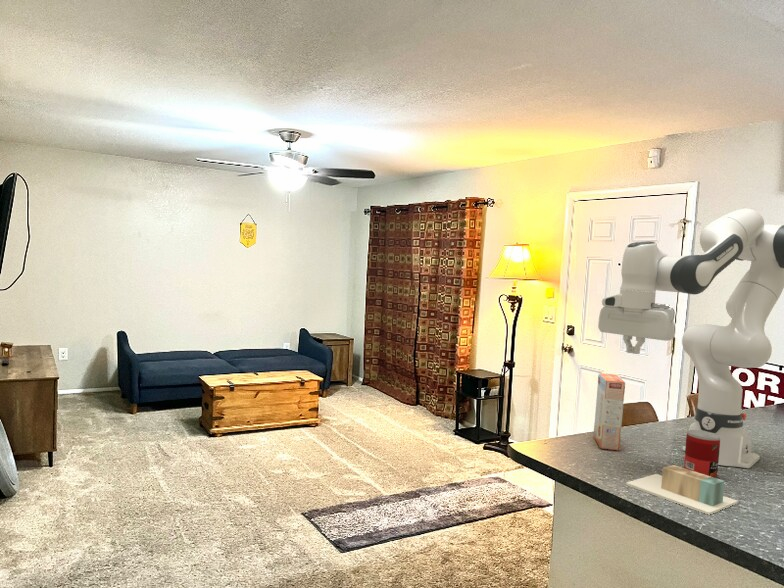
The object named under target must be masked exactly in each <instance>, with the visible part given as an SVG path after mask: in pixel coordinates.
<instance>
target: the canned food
mask: <svg viewBox="0 0 784 588" xmlns="http://www.w3.org/2000/svg"><path fill="white" fill-rule="evenodd" d="M685 446H686V447H685V451H684V463H683V468H685V469H688V470H691V471H694V472H698V473H701V474H704V475H707V476H711V477H714V478H717V477H718V470H719V465H718V461H719V450H720V436H719V435H717V434H714V433H711V432H707V431H701V430H687V431H686V437H685Z"/></svg>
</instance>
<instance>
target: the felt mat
mask: <svg viewBox="0 0 784 588" xmlns="http://www.w3.org/2000/svg"><path fill="white" fill-rule="evenodd" d="M661 484H662V475H661V474H658V473H654V474H651V475H648V476H647V475H646V476H643V477H640V478H637V479H634V480H631V481H627V482H625V486H628V487H631V488H633V489H636V490H638V491H641V492H644V493H647V494H649V495H652V496H654V497H657V498H660V499H663V500H665V499H666V501H669V502H672V503H674V504H676V503H677V505H679V504H680V506H682V505H683V506H682V507H685V508H687V507H688V509H691V510H693V511H695V512H698V511H699V513H701V512H702V513H701V514H704V513H705V514H704V515H707V514H708V515H707V516H711V515H713V513H714V514H715V513H716V514H717V513H718V512H721V511H723V510H725V508H726V509H728V508H731V507H733V506H736V505H738V504H739V500H736V499H733V498H731V497H727V496H724V495H723V502H722V503H719V504H717V505H714V506H710V505H707V504H704V503H701V502H699V501H696V500H693V499H690V498H687V497H684V496H682V495H679V494H676V493H673V492H670V491H667V490H664V489H662V488H661ZM735 504H736V505H735ZM732 505H733V506H732ZM730 506H731V507H730ZM722 509H723V510H722ZM720 510H721V511H720ZM710 514H711V515H710Z"/></svg>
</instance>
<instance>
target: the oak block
mask: <svg viewBox="0 0 784 588" xmlns="http://www.w3.org/2000/svg"><path fill="white" fill-rule="evenodd" d="M661 488H662V489H664V490H667V491H670V492H673V493H676V494H679V495H682V496H684V497H687V498H690V499H693V500H696V501H699V502H701V503H704V504H707V505H710V506H714V505H717V504H719V503H722V502H723V496H724V490H725V480H723V479H719V478H717V477H716V478H714V477H711V476H707V475H704V474H701V473H698V472H694V471H691V470H688V469H685V468H684V467H681V466H678V465H674V464H673V465H669V466H665V467H662V484H661Z"/></svg>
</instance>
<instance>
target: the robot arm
mask: <svg viewBox="0 0 784 588" xmlns="http://www.w3.org/2000/svg"><path fill="white" fill-rule="evenodd" d="M699 244H700V247H701V249H702V251H703V252H704V253H703V254H692V255H690V254H689V255H668V254H666V253H665V252H663V251H662V250H661V249H660V248H659V247H658V245H657V243H656V242H655V241H637V242H635V241H634V242H631V243H629V244H627V246H626V247H625V249H624V252H623V256H622V261H621V279H622V280H621V281H622V282H621V286H620V288H619V293H617V294H615V295H610V296H606V297H604V298H602V301H601V305H602V306H603V307H601V310H600V311H599V317H598V324H597V328H598V329H599V332H600V333H607V334H613V335H618V336H619V335H621V336H623V338H622V340H623V343H625V347H626V353H627V354H634V355H640V353H641V347H642V346H644V344H645V342H646V339H650V340H658V341H665V342H666V341H668V342H669V341H672V340H673V339H674V337H675V321H674V320H675V313H676V311H675V309H674V308H673V307H672V306H671V305H670V304H666V303H664V304H661V303H657V302H656V297H657V296H656V294H657V291H661V292H669V293H670V292H671V293H682V294H688V295H699V294H701V293H703V292H704V291H706V290H707V289H708V288H709V286H710V285H711V284H712V282H713V280H714V279H715V278H716V277H717V276H718V275H720V273H721V272H722V271H723V270H725V269H726V268H727V267H729V266H730V265H731V264H732V263H733V262H735V260H737V261H747V262H748V261H749V262H750V267H749V269H748V270H747V271H746V273H745V274H743V276H742V278H741V279H740V280H739V282H738V284H737V286H735V288H734V289H733V292H732V293H731V295H730V296H729V298H728V299H727V301H726V302H725V309H726V313H727V314H728V316H729V317H730V318H731V320H730V322H729V324H728V325H725V326H724V325H717V324H708V323H706V324H705V323H703V324H696V325H691V326H689V327H688V328H686V330H685V331H684V333H683V334H682V338H681V344H682V348H683V351H684V353H686V354H687V355H688V356H689V357H690V359H691V361H692V363H693V365H694V367H695V371H696V374H697V375H696V376H697V379H698V397H697V399H698V400H697V407H695V411H694V419H695V421H694V422H693V423H690V425H689V430H701V431H707V432H711V433H714V434H717V435H719V436H720V450H719V461H718V466H723V467H724V466H726V467H738V468H745V469H751V468H752V467H753V466H754V465H755V464H756V463H757V462H758V461H759V460H761V459H760V458H761V457H760V455H759V454H757V453H755V452H752V442H753V441H752V438H751V436H750V435H749V434H748V433H747V431H746V430H745V429H744V427H743V426H744V421H746V419H747V414H746V413H742V412H741V411H742V403H743V387H742V385H741V383H740V382H739V381H738V380H737V379H736V378H735V377H734V376H733V374H732V371H731V369H730V366H732V367H736V368H743V369H748V368H749V369H750V368H751V369H752V368H754V369H755V368H761V367H764V366H765V364H767V363H768V361H769V360H770V358H771V356H772V352H773V351H772V343H771V341H770V339H769V337H768V336H767V335H766V333H765V325H766V322H767V319H768V317H769V316H770V314H771V312H772V310H773V308H774V307H775V305H776V304H777V302H778V300H779V298H780V297H781V296H782V293H783V290H784V224H776V223H775V224H774V223H773V224H772V223H770V224H769V223H765V220H764V218H763V216H762V215H761V213H759V212H758V211H757V210H755V209H754V208H753V209H752V208H746V207H743V208H740V209H737V210H736V209H735V210H733V211H730V212H729V213H726V214H723V215H722V216H719V217H718V218H717V219H714V220H713V221H711V222H710V223H708V224H707V225H706V226H704V227H703V229H701V231H700V234H699ZM633 337H635V341H636V343H635V345H634V346H633V343H632V340H633ZM685 447H686V445H682V451H684V452H685Z"/></svg>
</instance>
